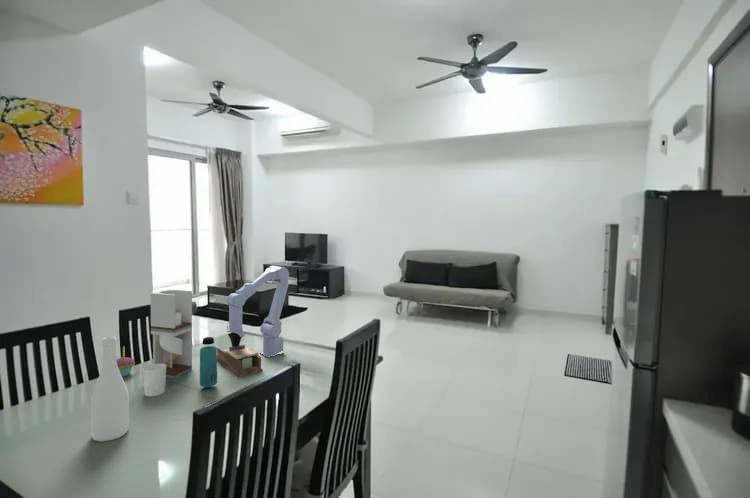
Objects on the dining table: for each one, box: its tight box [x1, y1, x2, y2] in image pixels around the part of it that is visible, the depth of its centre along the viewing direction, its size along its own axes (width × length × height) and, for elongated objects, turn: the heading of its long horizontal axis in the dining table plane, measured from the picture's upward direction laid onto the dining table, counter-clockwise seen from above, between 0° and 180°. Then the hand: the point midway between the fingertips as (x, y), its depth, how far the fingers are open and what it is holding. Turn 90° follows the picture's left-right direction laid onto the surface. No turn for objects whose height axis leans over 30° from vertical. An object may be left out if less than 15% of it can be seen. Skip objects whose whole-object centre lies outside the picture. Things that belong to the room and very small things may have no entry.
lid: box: [225, 343, 259, 359], centre depth 175 cm, size 10×11×2 cm
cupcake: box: [116, 346, 136, 377], centre depth 164 cm, size 9×8×12 cm
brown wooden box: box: [216, 347, 264, 378], centre depth 178 cm, size 11×24×6 cm, turn 44°
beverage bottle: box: [199, 336, 218, 388], centre depth 153 cm, size 6×7×20 cm
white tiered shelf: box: [150, 288, 193, 380], centre depth 167 cm, size 11×11×35 cm
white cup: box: [142, 363, 167, 397], centre depth 148 cm, size 8×8×10 cm
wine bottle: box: [90, 335, 130, 442], centre depth 118 cm, size 10×10×30 cm
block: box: [238, 356, 252, 370], centre depth 173 cm, size 4×4×5 cm
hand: (235, 348), depth 180 cm, fingers closed
